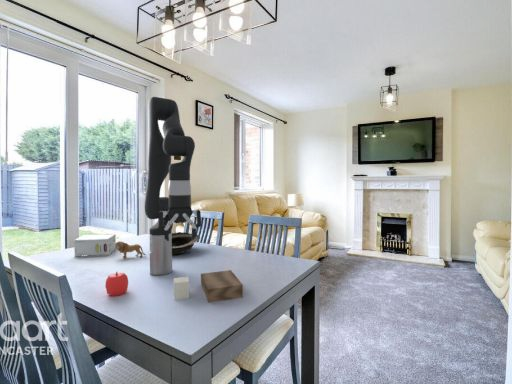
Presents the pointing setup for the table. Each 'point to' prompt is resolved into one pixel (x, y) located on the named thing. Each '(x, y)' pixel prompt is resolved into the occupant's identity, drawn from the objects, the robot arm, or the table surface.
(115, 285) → the apple
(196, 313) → the table surface
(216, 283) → the walnut plinth
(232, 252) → the table surface
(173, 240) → the dark brown round bowl
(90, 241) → the supplement box
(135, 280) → the table surface
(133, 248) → the lion figurine
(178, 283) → the cream block
